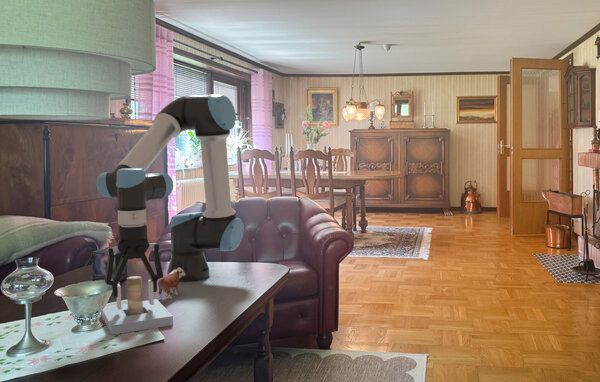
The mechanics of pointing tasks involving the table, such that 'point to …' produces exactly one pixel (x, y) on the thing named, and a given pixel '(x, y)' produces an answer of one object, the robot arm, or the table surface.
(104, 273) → the small box
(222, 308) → the table surface
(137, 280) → the peg
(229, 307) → the table surface
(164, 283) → the bull figurine
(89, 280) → the table surface
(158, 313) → the socket board
